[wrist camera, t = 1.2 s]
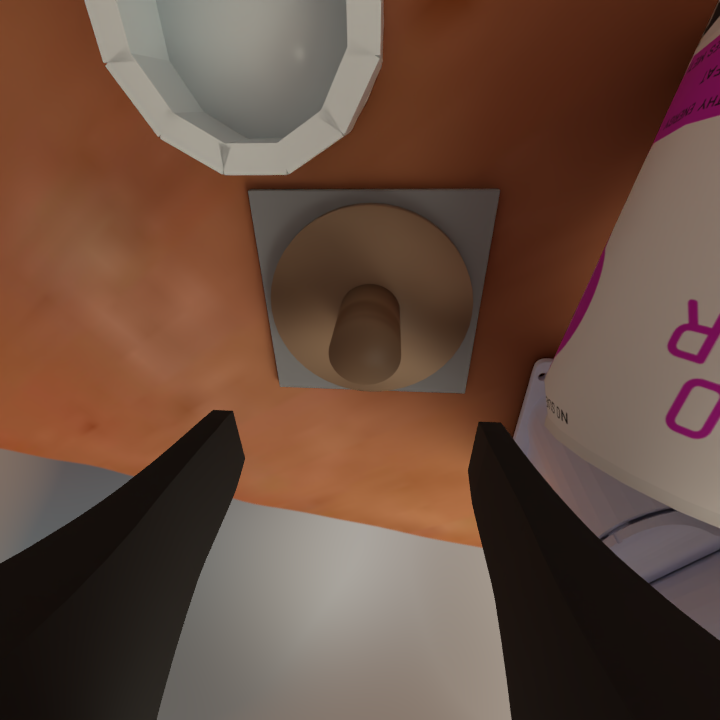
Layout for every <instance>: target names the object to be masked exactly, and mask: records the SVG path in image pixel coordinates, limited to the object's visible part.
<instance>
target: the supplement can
mask: <svg viewBox="0 0 720 720" xmlns="http://www.w3.org/2000/svg"><path fill="white" fill-rule="evenodd" d="M544 382H545V393H546V403H547V413H548V414H547V416H546V418H545V424H544V426H545V427H546V428H547V429H548V430H549V431H550V433H551V434H552V435H553V436H554V437H555V438H556V439H557V440H558V441H559V442H561V443H562V444H563V445H565V446H566V447H567V448H569V449H570V450H571V451H573V452H574V453H575V454H577V455H578V456H579V457H581V458H582V459H584V460H585V461H587V462H588V463H590V464H592V465H593V466H595V467H597V468H598V469H600V470H602V471H603V472H605V473H607V474H608V475H610V476H612V477H613V478H615V479H617V480H618V481H620V482H622V483H623V484H625V485H627V486H629V487H631V488H633V489H635V490H637V491H639V492H641V493H643V494H645V495H647V496H649V497H651V498H653V499H655V500H657V501H659V502H661V503H663V504H665V505H667V506H669V507H671V508H673V509H675V510H677V511H679V512H681V513H684V514H686V515H689V516H691V517H693V518H696V519H698V520H701V521H703V522H706V523H708V524H710V525H713V526H715V527H718V528H720V0H718V3H717V5H716V7H715V9H714V11H713V13H712V16H711V18H710V20H709V22H708V24H707V26H706V29H705V31H704V33H703V35H702V37H701V39H700V42H699V44H698V46H697V48H696V50H695V53H694V55H693V57H692V59H691V61H690V63H689V66H688V68H687V70H686V72H685V74H684V76H683V79H682V81H681V83H680V85H679V87H678V89H677V92H676V94H675V96H674V98H673V100H672V103H671V105H670V107H669V109H668V111H667V113H666V116H665V118H664V120H663V122H662V124H661V126H660V129H659V131H658V133H657V135H656V137H655V139H654V142H653V144H652V146H651V148H650V150H649V152H648V155H647V157H646V159H645V161H644V163H643V166H642V168H641V170H640V172H639V174H638V176H637V179H636V181H635V183H634V185H633V187H632V189H631V192H630V194H629V196H628V198H627V200H626V202H625V205H624V207H623V209H622V211H621V213H620V216H619V218H618V220H617V222H616V224H615V226H614V229H613V231H612V233H611V235H610V237H609V239H608V242H607V244H606V246H605V248H604V250H603V252H602V255H601V257H600V259H599V261H598V263H597V265H596V268H595V270H594V272H593V274H592V276H591V279H590V281H589V283H588V285H587V287H586V289H585V292H584V294H583V296H582V298H581V300H580V302H579V305H578V307H577V309H576V311H575V313H574V315H573V318H572V320H571V322H570V324H569V326H568V329H567V331H566V333H565V335H564V337H563V339H562V342H561V344H560V346H559V348H558V350H557V352H556V355H555V357H554V359H553V361H552V363H551V365H550V368H549V370H548V372H547V374H546V377H545V380H544Z"/></svg>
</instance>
